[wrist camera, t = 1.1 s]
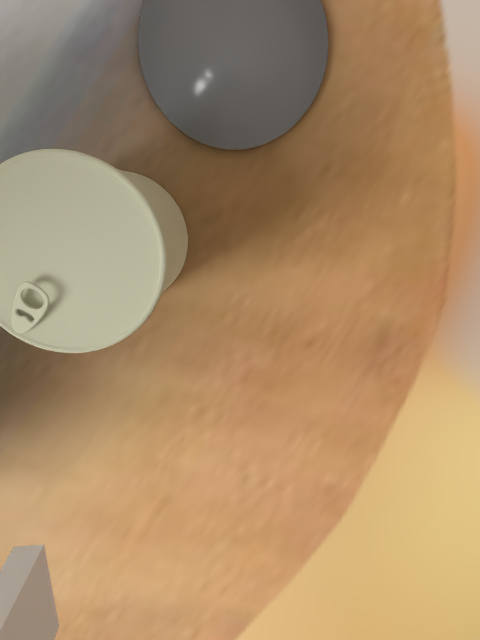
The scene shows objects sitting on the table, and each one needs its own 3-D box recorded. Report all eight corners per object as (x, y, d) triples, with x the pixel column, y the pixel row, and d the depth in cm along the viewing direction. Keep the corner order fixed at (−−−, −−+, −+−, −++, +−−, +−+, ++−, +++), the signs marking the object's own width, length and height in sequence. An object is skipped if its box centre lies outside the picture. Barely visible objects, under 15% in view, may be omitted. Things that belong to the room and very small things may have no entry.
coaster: (115, 107, 28) (113, 105, 27) (175, -99, 25) (174, -106, 24) (283, 177, 29) (284, 177, 29) (356, -9, 27) (359, -14, 26)
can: (32, 255, 30) (-89, 283, 18) (100, 141, 28) (14, 95, 17) (143, 326, 32) (96, 394, 20) (213, 223, 30) (207, 233, 18)
